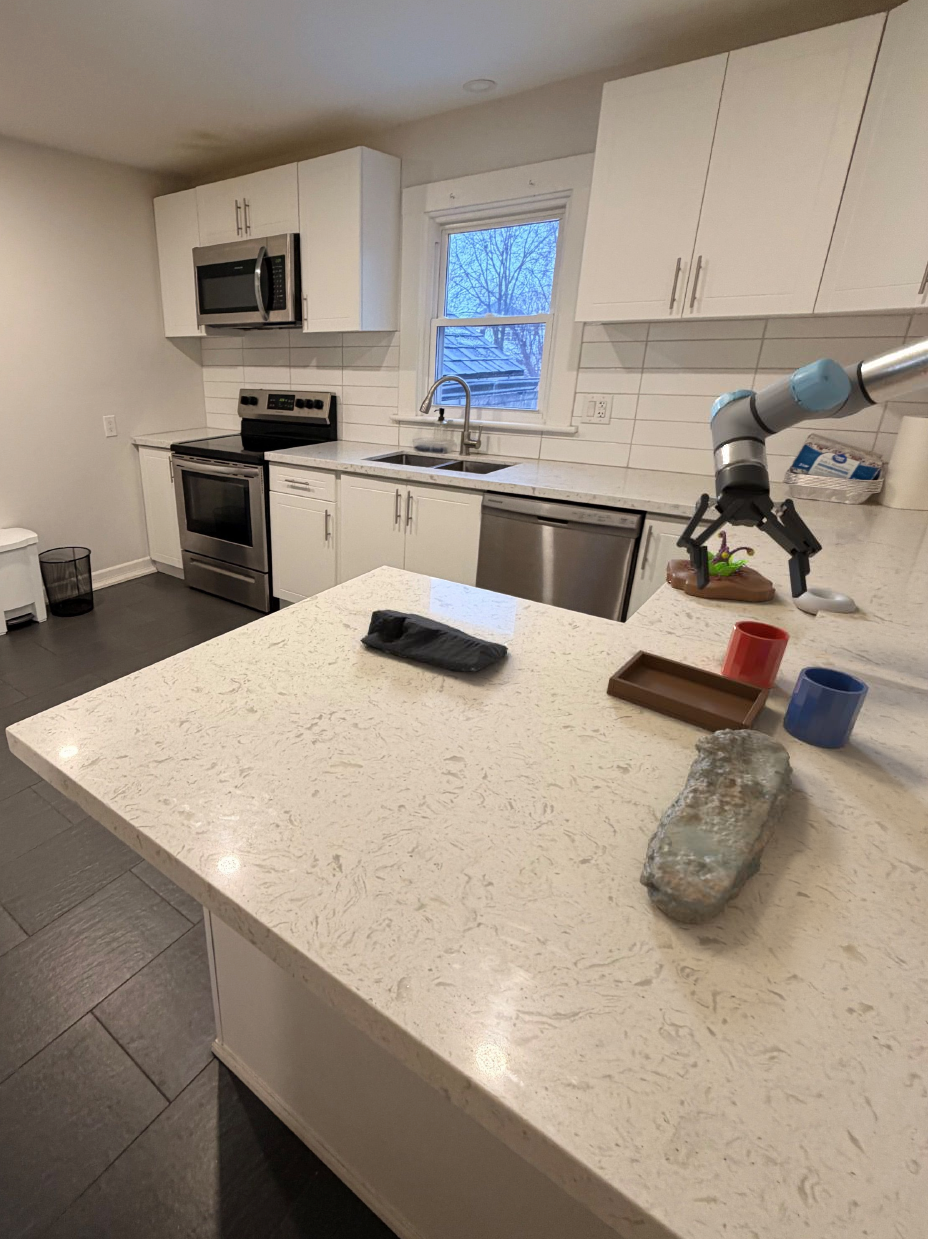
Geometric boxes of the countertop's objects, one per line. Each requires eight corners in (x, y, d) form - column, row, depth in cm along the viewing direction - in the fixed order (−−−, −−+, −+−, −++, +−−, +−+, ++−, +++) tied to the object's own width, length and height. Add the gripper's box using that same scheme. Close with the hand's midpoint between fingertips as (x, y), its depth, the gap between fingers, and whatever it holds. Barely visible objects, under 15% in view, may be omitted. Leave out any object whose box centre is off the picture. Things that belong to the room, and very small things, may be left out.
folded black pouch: (470, 688, 93) (474, 659, 91) (351, 643, 106) (352, 617, 104) (515, 653, 104) (519, 626, 102) (402, 616, 117) (404, 592, 115)
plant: (749, 573, 143) (763, 525, 139) (785, 605, 126) (803, 551, 121) (653, 565, 147) (664, 517, 143) (675, 595, 130) (688, 542, 125)
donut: (785, 610, 124) (849, 624, 118) (790, 594, 123) (855, 607, 116) (794, 597, 131) (855, 609, 124) (799, 581, 129) (861, 593, 123)
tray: (764, 705, 90) (770, 689, 89) (744, 742, 82) (749, 725, 81) (636, 664, 101) (639, 649, 100) (606, 693, 93) (609, 677, 92)
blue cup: (850, 732, 84) (871, 679, 81) (843, 755, 80) (865, 699, 77) (787, 712, 89) (805, 661, 86) (777, 733, 84) (796, 679, 81)
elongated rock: (605, 897, 60) (722, 967, 54) (618, 857, 58) (742, 926, 52) (711, 730, 83) (801, 766, 77) (723, 697, 81) (817, 731, 75)
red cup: (778, 677, 98) (793, 630, 95) (768, 694, 93) (784, 645, 90) (727, 662, 103) (740, 617, 99) (715, 677, 98) (729, 630, 95)
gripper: (811, 492, 108) (826, 607, 100) (653, 483, 113) (656, 592, 105) (838, 466, 101) (856, 587, 94) (668, 457, 106) (673, 572, 98)
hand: (751, 590), depth 99 cm, fingers open, 13 cm apart
